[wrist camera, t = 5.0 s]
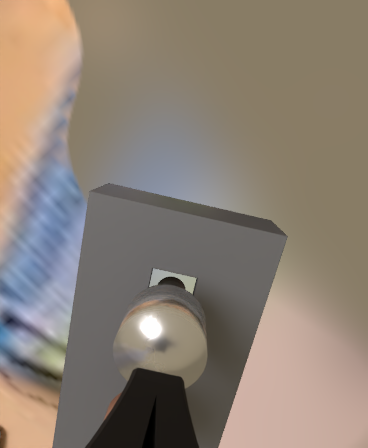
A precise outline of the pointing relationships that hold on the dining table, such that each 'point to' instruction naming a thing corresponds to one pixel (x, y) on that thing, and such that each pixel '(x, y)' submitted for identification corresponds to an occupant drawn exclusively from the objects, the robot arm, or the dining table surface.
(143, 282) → the knob panel
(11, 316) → the dining table surface
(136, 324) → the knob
